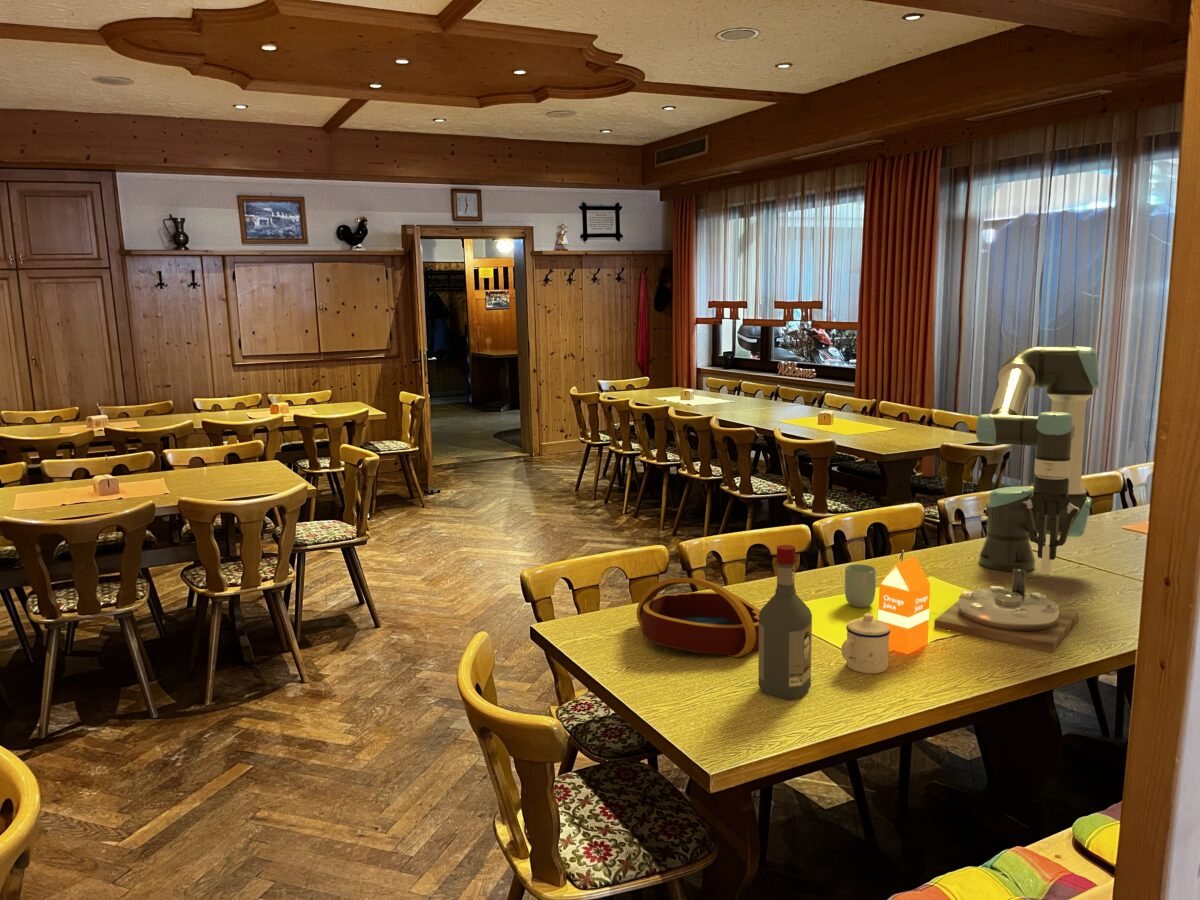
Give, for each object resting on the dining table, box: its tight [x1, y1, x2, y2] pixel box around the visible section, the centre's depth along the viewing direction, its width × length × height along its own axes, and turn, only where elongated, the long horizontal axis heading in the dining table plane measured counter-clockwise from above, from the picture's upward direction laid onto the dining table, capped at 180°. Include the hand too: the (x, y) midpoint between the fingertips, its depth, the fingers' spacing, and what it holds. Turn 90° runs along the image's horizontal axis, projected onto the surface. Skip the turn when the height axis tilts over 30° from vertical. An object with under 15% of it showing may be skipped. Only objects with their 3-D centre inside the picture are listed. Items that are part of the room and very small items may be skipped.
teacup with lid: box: [840, 613, 890, 675], centre depth 186 cm, size 12×9×12 cm
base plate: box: [933, 600, 1080, 653], centre depth 211 cm, size 26×26×2 cm
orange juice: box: [877, 556, 931, 655], centre depth 198 cm, size 8×9×20 cm
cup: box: [844, 563, 877, 609], centre depth 226 cm, size 8×8×10 cm
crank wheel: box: [958, 568, 1060, 631], centre depth 210 cm, size 22×22×9 cm
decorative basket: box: [636, 577, 761, 658], centre depth 205 cm, size 34×29×15 cm
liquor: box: [758, 544, 813, 701], centre depth 175 cm, size 9×9×30 cm
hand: (1045, 571), depth 212 cm, fingers closed
